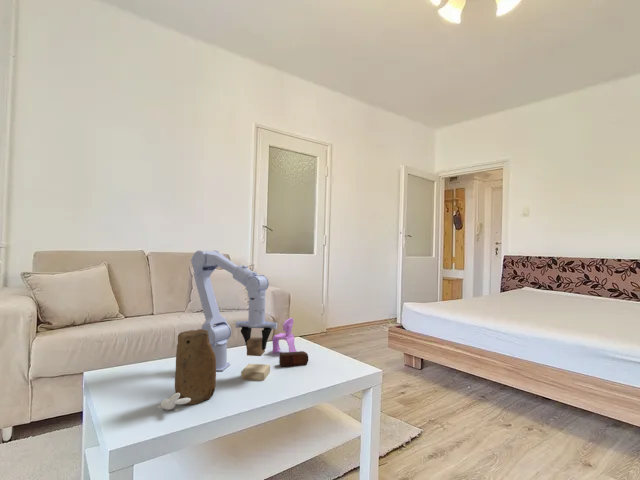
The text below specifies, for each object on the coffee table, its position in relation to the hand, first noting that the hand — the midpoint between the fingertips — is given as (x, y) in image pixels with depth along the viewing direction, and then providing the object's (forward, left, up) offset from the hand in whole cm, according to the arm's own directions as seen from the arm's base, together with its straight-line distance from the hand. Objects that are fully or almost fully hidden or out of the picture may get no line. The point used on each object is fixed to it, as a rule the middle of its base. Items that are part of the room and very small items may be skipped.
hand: (256, 348), depth 122 cm
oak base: (0, 0, -10) cm, 10 cm away
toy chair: (+4, +28, -10) cm, 30 cm away
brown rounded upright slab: (-12, -21, -10) cm, 26 cm away
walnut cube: (0, 0, -2) cm, 2 cm away
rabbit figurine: (-14, -29, -10) cm, 33 cm away
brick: (+11, +13, -10) cm, 20 cm away
